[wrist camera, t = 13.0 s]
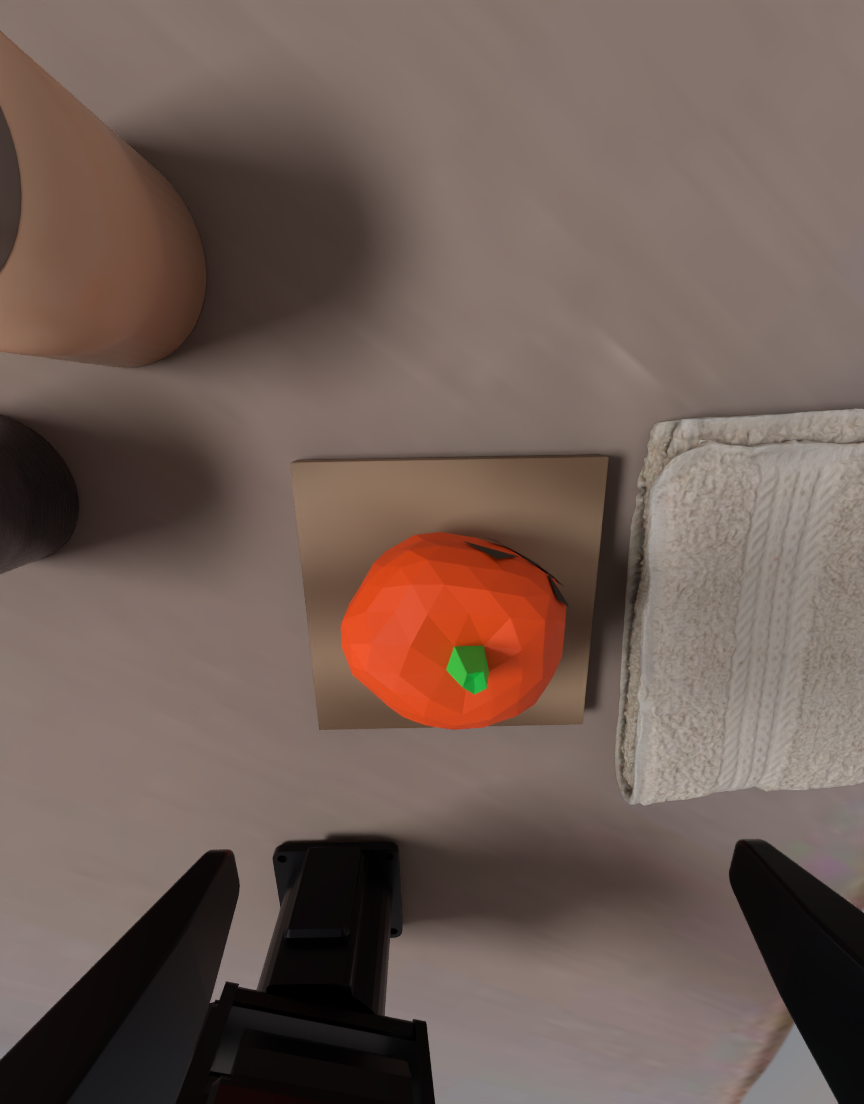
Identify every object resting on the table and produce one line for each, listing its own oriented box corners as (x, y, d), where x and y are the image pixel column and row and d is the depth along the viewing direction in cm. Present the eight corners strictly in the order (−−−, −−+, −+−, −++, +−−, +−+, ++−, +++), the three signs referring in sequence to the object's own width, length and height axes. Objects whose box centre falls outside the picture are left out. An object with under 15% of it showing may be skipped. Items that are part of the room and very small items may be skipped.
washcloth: (923, 391, 18) (1021, 389, 15) (839, 759, 23) (898, 809, 21) (623, 418, 18) (660, 419, 15) (608, 776, 24) (633, 829, 21)
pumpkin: (355, 520, 18) (319, 546, 12) (551, 531, 19) (617, 563, 12) (349, 686, 20) (315, 789, 13) (534, 694, 20) (585, 799, 14)
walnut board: (575, 710, 22) (582, 724, 21) (324, 715, 22) (319, 729, 21) (599, 454, 18) (608, 457, 17) (297, 459, 18) (290, 462, 17)
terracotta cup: (220, 365, 17) (85, 337, 10) (32, 369, 17) (-227, 343, 10) (187, 136, 15) (-10, -88, 8) (-28, 138, 15) (-403, -84, 8)
